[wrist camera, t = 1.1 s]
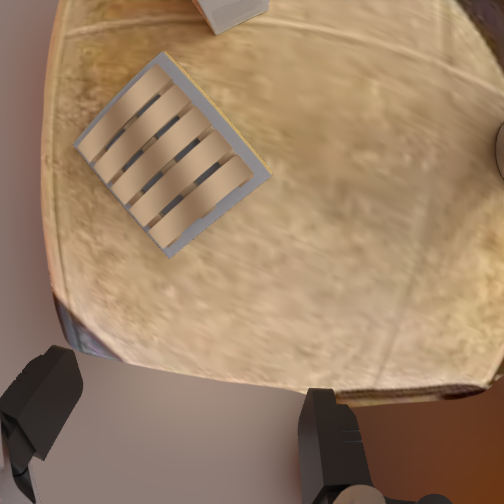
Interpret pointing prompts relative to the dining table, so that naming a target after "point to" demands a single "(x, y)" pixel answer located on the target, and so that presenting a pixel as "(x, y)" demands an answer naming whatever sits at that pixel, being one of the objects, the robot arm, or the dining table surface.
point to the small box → (229, 12)
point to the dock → (189, 149)
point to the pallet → (163, 157)
